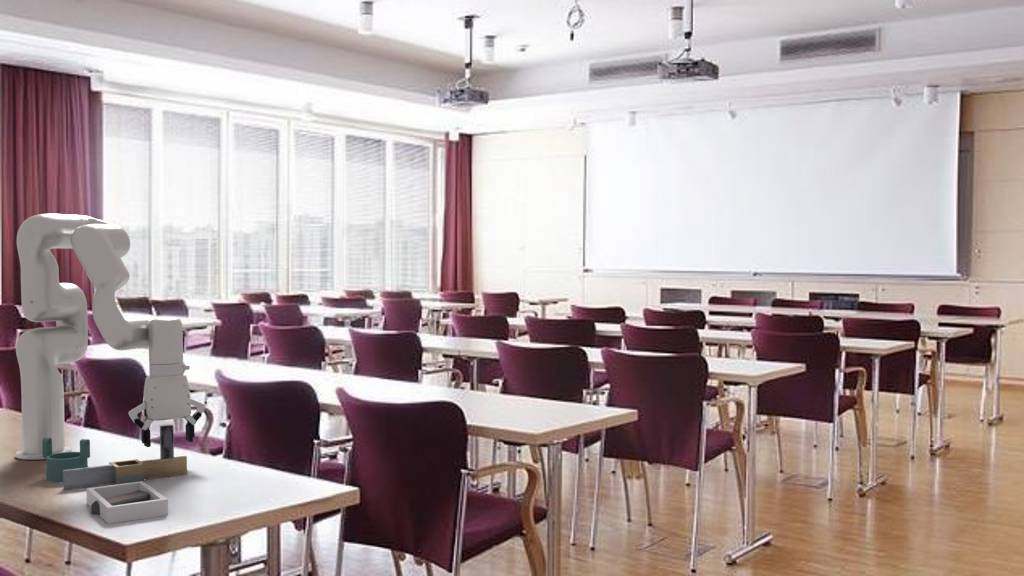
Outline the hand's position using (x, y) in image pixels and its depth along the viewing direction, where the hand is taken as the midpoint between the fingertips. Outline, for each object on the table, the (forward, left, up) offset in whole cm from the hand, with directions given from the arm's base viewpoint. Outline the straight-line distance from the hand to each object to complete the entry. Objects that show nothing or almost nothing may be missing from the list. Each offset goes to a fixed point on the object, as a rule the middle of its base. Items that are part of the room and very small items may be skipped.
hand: (168, 443), depth 232 cm
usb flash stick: (+32, -17, -6) cm, 37 cm away
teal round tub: (-4, -21, -6) cm, 22 cm away
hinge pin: (0, 0, -6) cm, 6 cm away
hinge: (+8, -11, -6) cm, 15 cm away
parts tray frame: (+32, -17, -6) cm, 36 cm away
